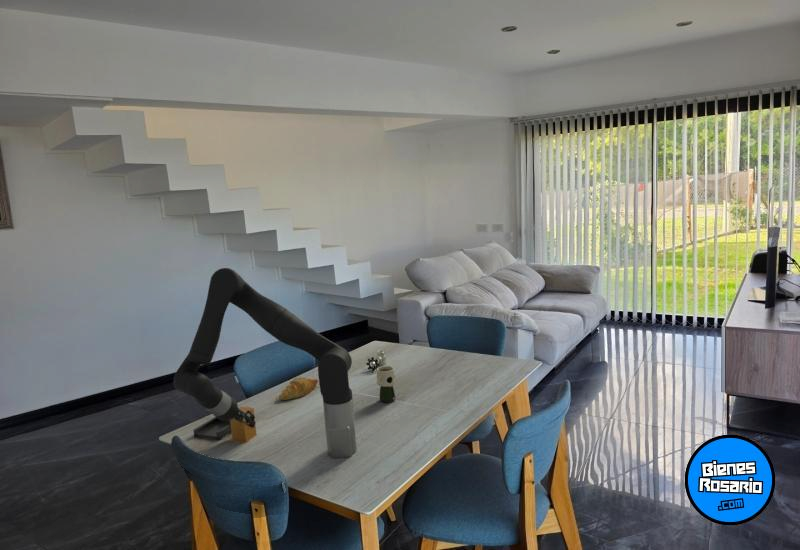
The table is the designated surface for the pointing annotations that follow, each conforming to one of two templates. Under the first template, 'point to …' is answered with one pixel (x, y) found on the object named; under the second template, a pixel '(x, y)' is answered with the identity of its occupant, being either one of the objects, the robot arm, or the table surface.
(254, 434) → the block
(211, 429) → the tray
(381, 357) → the valve
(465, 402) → the table surface
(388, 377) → the character mug
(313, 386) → the croissant
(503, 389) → the table surface
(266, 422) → the table surface
